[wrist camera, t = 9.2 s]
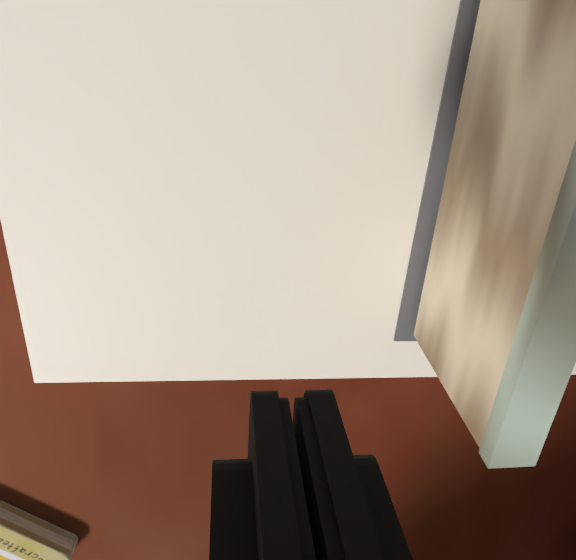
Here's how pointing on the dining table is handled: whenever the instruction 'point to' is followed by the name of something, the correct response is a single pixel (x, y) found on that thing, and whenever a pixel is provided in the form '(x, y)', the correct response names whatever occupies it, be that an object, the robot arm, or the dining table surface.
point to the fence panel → (508, 233)
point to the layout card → (225, 183)
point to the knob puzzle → (32, 537)
